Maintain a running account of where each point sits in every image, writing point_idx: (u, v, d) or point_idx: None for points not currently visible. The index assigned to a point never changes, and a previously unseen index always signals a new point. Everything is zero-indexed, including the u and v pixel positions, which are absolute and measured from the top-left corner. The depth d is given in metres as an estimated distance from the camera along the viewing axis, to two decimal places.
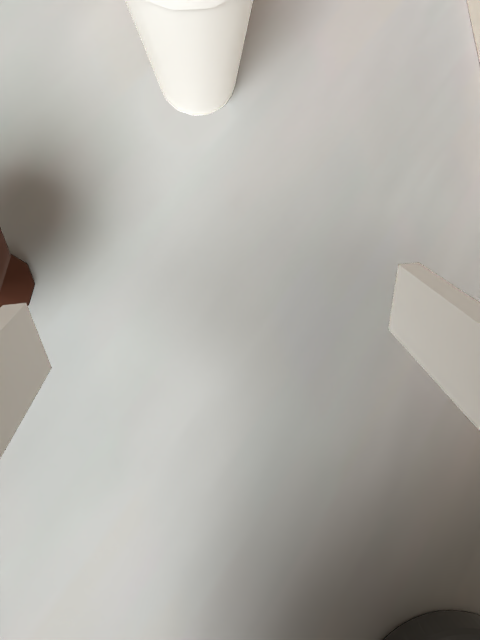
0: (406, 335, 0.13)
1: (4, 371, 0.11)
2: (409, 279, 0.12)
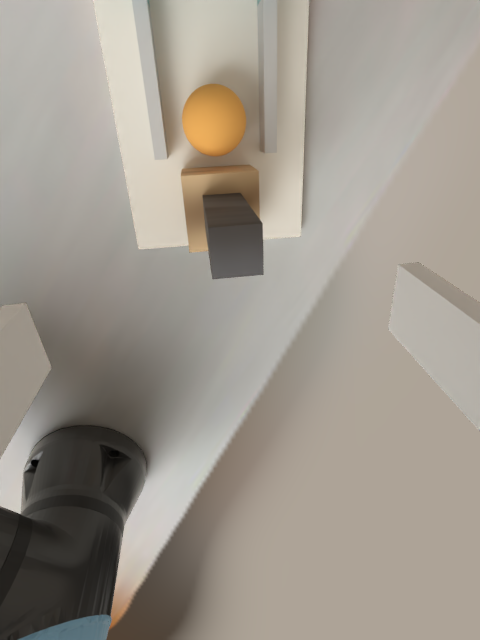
0: (406, 335, 0.13)
1: (4, 371, 0.11)
2: (409, 279, 0.12)
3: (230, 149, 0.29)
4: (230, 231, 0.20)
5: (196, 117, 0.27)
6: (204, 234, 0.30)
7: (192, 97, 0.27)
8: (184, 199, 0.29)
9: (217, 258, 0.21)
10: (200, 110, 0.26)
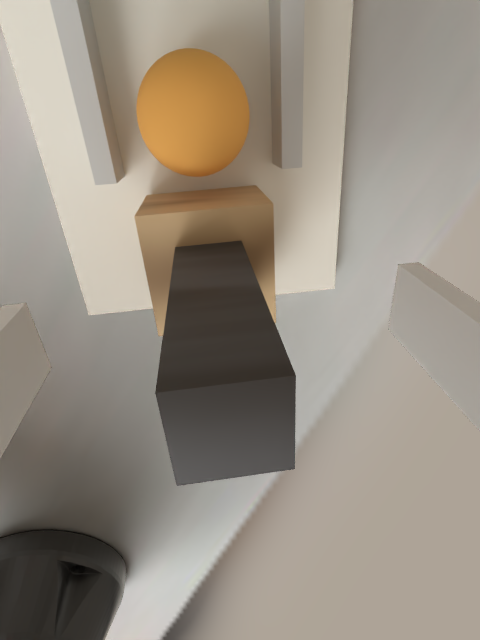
0: (406, 335, 0.13)
1: (4, 371, 0.11)
2: (409, 279, 0.12)
3: (223, 165, 0.17)
4: (214, 396, 0.08)
5: (157, 110, 0.14)
6: None
7: (150, 73, 0.15)
8: (144, 254, 0.16)
9: (185, 449, 0.09)
10: (164, 97, 0.14)
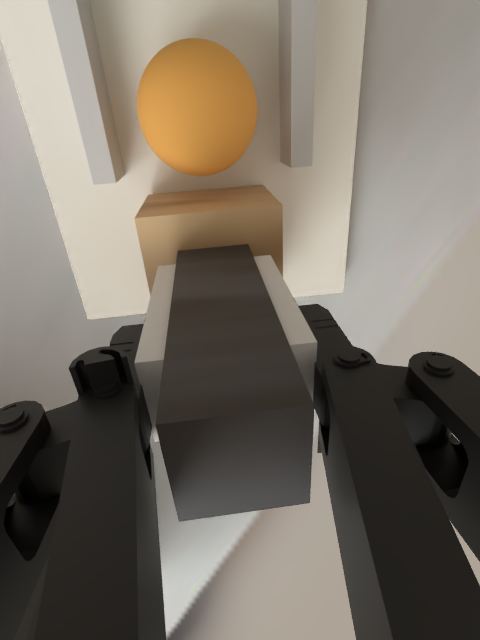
0: None
1: None
2: None
3: (228, 163, 0.16)
4: (222, 428, 0.07)
5: (159, 104, 0.14)
6: None
7: (151, 65, 0.14)
8: (144, 259, 0.15)
9: (188, 483, 0.08)
10: (167, 90, 0.13)
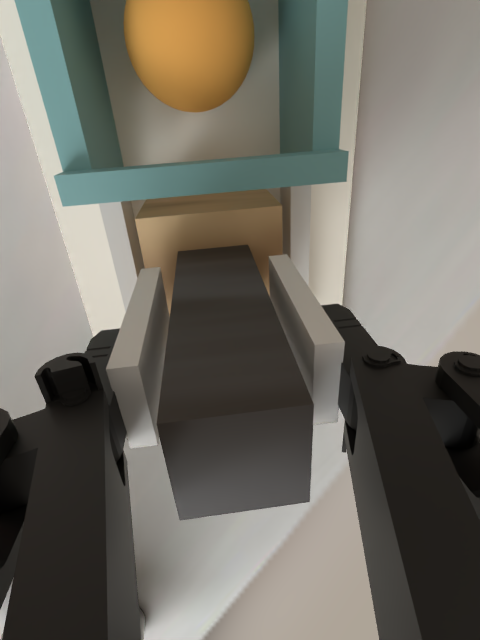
0: None
1: (159, 320, 0.13)
2: (272, 269, 0.14)
3: None
4: (222, 427, 0.07)
5: (163, 102, 0.15)
6: None
7: (154, 84, 0.14)
8: (145, 259, 0.16)
9: (189, 482, 0.08)
10: (172, 107, 0.15)
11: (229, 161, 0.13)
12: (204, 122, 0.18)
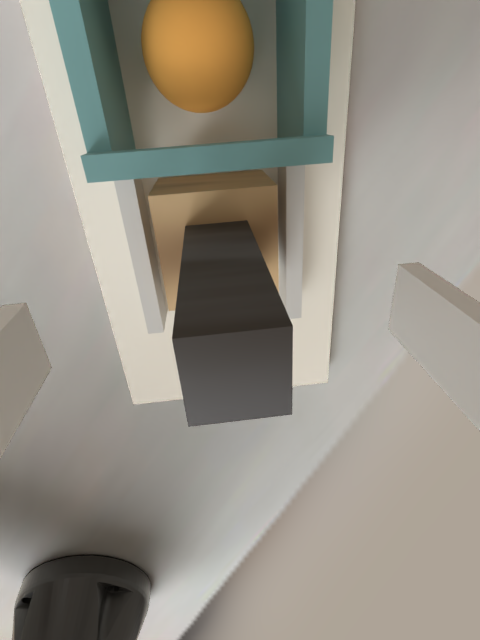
0: (406, 335, 0.13)
1: (4, 371, 0.11)
2: (409, 279, 0.12)
3: None
4: (222, 343, 0.09)
5: None
6: None
7: (168, 94, 0.16)
8: (156, 233, 0.18)
9: (196, 391, 0.10)
10: (182, 108, 0.18)
11: (230, 144, 0.15)
12: None
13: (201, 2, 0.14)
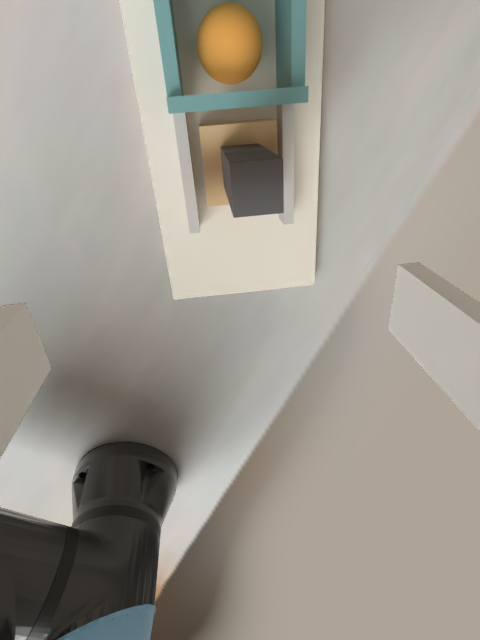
0: (406, 335, 0.13)
1: (4, 371, 0.11)
2: (409, 279, 0.12)
3: None
4: (251, 167, 0.20)
5: None
6: (222, 187, 0.30)
7: (212, 75, 0.28)
8: (202, 151, 0.29)
9: (238, 195, 0.21)
10: None
11: None
12: None
13: (235, 26, 0.25)
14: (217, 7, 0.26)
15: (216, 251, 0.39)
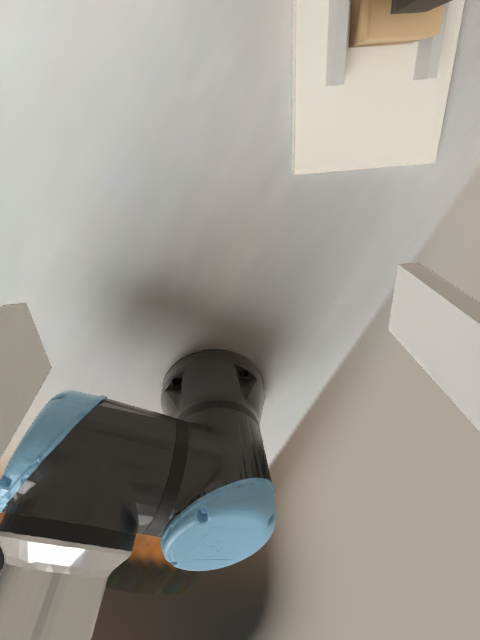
0: (406, 335, 0.13)
1: (4, 371, 0.11)
2: (409, 279, 0.12)
3: None
4: None
5: None
6: (389, 15, 0.30)
7: None
8: None
9: None
10: None
11: None
12: None
13: None
14: None
15: (346, 118, 0.38)
